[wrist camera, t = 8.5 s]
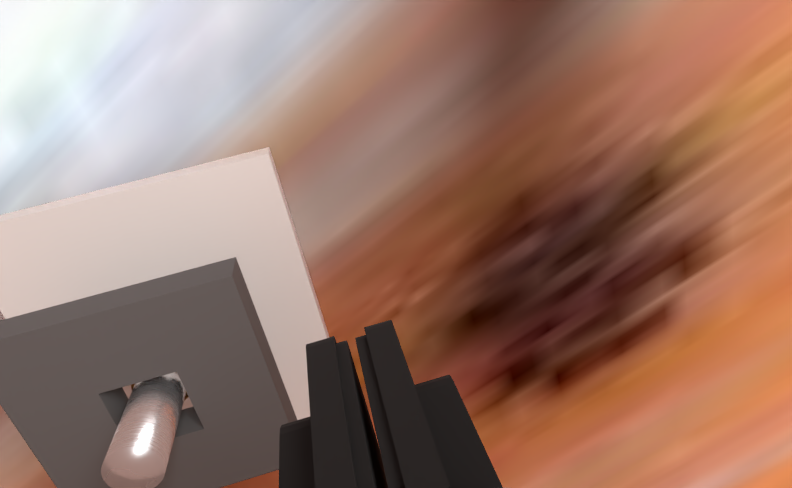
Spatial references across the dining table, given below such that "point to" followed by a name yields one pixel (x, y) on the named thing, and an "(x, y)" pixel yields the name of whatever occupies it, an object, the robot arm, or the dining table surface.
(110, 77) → the dining table surface
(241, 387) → the square hole plate
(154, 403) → the glossy pinkish cylinder
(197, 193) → the stand plate
